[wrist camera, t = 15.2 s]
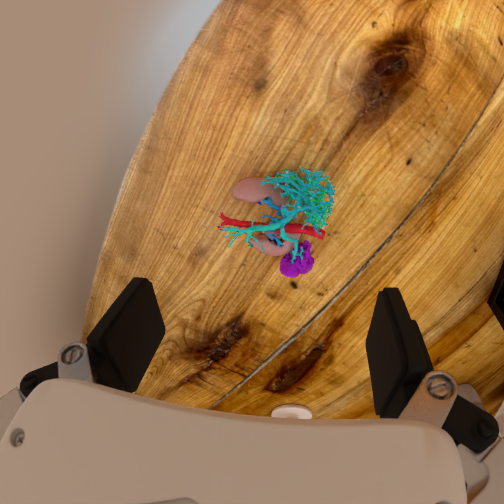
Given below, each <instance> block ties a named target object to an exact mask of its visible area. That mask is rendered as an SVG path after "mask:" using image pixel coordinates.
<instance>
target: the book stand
mask: <svg viewBox="0 0 504 504" xmlns="http://www.w3.org/2000/svg"><path fill="white" fill-rule="evenodd" d="M503 299H504V261H503V264H502V267H501V270H500V272H499V275H498V277H497V280H496V283H495V285H494V287H493V290H492V292H491V295H490V297H489V299H488V301H487V304H488V305H489V307H490V308H491V310H492V311H493V313H494V315H495V316H496V318H497V320H498V321H499V323H500V325H501V326H502V328H503V330H504V300H503Z"/></svg>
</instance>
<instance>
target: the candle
mask: <svg viewBox="0 0 504 504" xmlns="http://www.w3.org/2000/svg"><path fill="white" fill-rule="evenodd" d="M272 417H277V418H294V419H311V418H312V411H311V410H310V409H309V408H307V407H305V406H302V405H296V404H287V405H281V406H278V407H276V408H275V409H274V410H273V411H272Z"/></svg>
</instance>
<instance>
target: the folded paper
mask: <svg viewBox="0 0 504 504" xmlns="http://www.w3.org/2000/svg"><path fill="white" fill-rule="evenodd" d="M494 418H495V419H496V421H497V422H498V426H499V431H500V433H501V436H502V437H503V436H504V401H503V403H502V405H501V407H500V408H499V410H498V412H497V414H496V415H495V417H494Z"/></svg>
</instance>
